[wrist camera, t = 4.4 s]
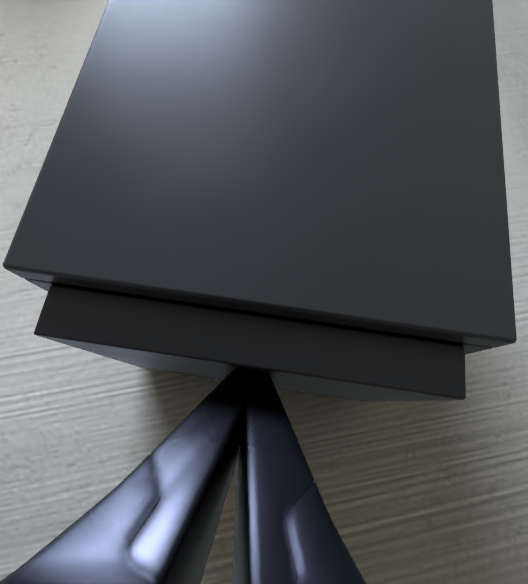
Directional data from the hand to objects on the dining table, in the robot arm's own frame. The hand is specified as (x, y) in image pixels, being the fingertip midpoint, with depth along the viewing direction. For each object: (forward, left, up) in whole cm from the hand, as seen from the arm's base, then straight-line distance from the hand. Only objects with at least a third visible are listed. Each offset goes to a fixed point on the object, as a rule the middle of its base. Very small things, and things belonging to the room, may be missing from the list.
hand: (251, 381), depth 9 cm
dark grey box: (+2, +7, -7) cm, 10 cm away
